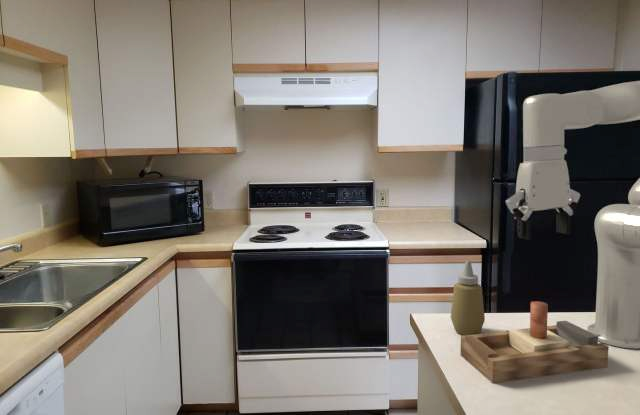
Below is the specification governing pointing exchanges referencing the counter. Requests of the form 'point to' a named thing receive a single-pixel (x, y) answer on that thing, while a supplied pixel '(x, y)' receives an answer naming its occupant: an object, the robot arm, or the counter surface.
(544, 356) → the base
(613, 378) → the counter surface
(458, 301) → the squeeze bottle
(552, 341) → the carriage
